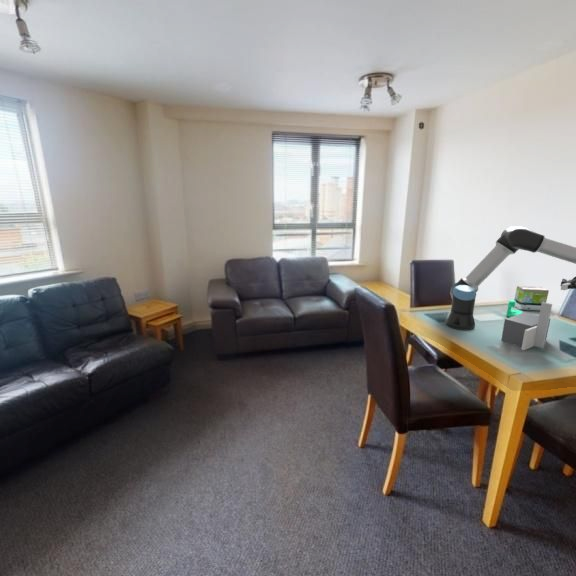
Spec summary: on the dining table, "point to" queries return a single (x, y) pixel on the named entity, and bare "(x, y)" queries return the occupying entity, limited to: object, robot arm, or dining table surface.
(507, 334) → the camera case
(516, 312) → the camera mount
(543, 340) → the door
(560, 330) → the dining table surface
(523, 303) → the tea box
